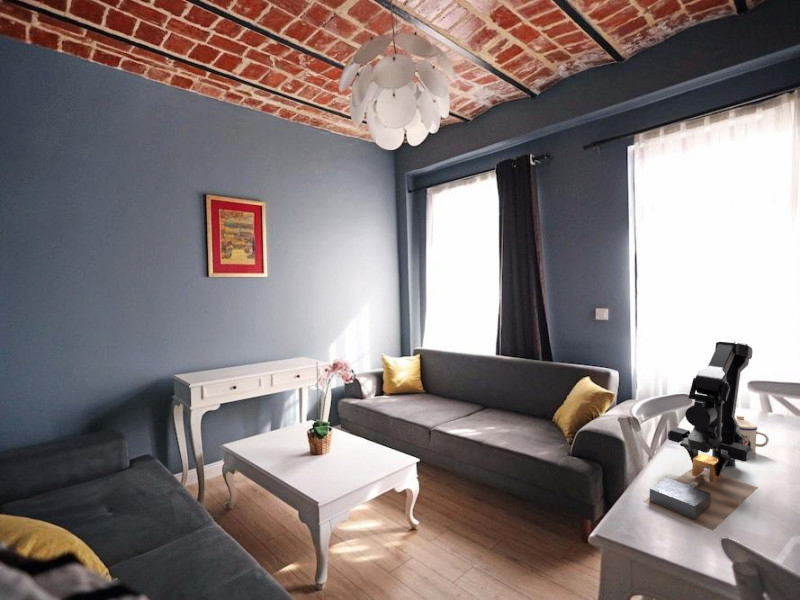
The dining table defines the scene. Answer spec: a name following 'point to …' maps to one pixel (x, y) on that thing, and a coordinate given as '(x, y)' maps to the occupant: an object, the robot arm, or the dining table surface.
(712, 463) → the block
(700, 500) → the grey flat rectangular block
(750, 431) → the teacup with lid
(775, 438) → the dining table surface
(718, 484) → the walnut board
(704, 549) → the dining table surface
